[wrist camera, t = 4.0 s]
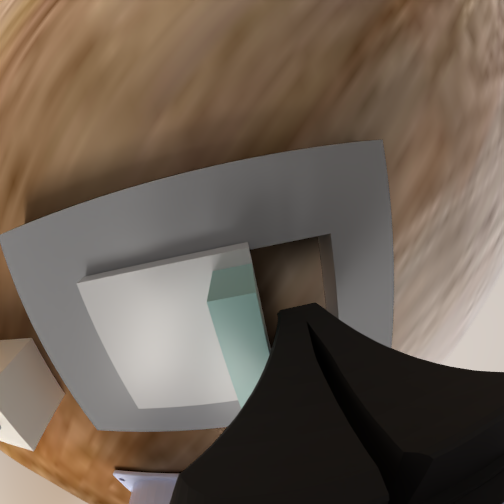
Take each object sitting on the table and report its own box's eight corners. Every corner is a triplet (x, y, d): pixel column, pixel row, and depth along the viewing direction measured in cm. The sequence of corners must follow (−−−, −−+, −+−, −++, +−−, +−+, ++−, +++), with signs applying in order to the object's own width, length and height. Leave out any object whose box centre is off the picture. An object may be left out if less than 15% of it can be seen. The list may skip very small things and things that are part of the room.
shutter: (277, 382, 11) (286, 431, 9) (141, 399, 11) (127, 443, 9) (248, 241, 9) (251, 273, 7) (83, 276, 9) (47, 310, 7)
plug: (65, 393, 14) (27, 464, 8) (25, 390, 14) (-13, 449, 8) (32, 337, 13) (-24, 404, 7) (-6, 340, 13) (-56, 394, 7)
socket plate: (372, 366, 14) (386, 390, 12) (107, 405, 14) (97, 430, 12) (359, 141, 10) (382, 139, 9) (24, 224, 11) (-2, 235, 9)
